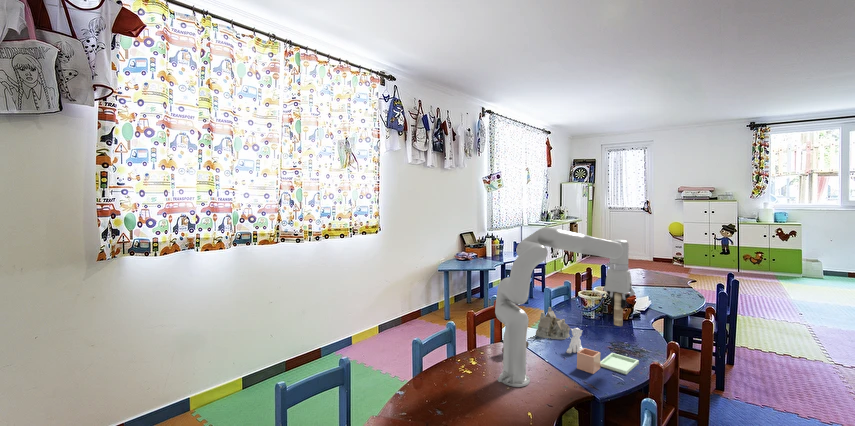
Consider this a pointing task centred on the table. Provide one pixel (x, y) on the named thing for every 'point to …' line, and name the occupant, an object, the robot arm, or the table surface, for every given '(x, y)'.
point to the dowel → (618, 309)
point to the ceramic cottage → (552, 326)
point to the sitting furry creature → (575, 341)
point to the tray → (619, 363)
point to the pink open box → (588, 360)
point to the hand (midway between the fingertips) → (618, 306)
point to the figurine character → (526, 344)
